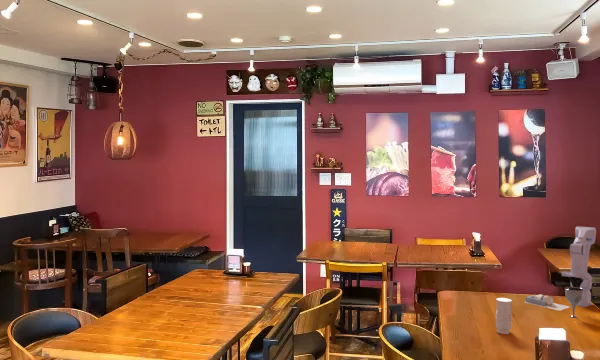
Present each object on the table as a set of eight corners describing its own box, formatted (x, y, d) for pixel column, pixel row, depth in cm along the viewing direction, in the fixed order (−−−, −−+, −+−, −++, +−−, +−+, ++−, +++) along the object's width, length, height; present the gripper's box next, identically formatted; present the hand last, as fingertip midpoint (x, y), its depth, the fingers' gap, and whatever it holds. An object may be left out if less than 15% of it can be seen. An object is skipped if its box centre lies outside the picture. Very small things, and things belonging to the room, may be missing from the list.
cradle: (535, 299, 295) (535, 294, 295) (570, 308, 279) (570, 302, 279) (523, 303, 288) (523, 297, 288) (559, 311, 272) (559, 306, 272)
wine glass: (584, 321, 257) (585, 291, 256) (567, 319, 258) (568, 290, 258) (579, 316, 265) (580, 287, 264) (562, 315, 266) (563, 286, 265)
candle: (509, 335, 235) (510, 302, 235) (493, 332, 239) (494, 300, 238) (512, 331, 241) (513, 299, 240) (497, 328, 245) (497, 297, 244)
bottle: (553, 304, 283) (536, 300, 291) (553, 296, 283) (537, 292, 291) (548, 305, 281) (531, 301, 288) (548, 297, 280) (532, 293, 288)
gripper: (559, 264, 275) (558, 290, 276) (587, 269, 264) (586, 295, 264) (565, 263, 280) (565, 288, 280) (594, 267, 268) (593, 294, 268)
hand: (576, 291), depth 272 cm, fingers closed
